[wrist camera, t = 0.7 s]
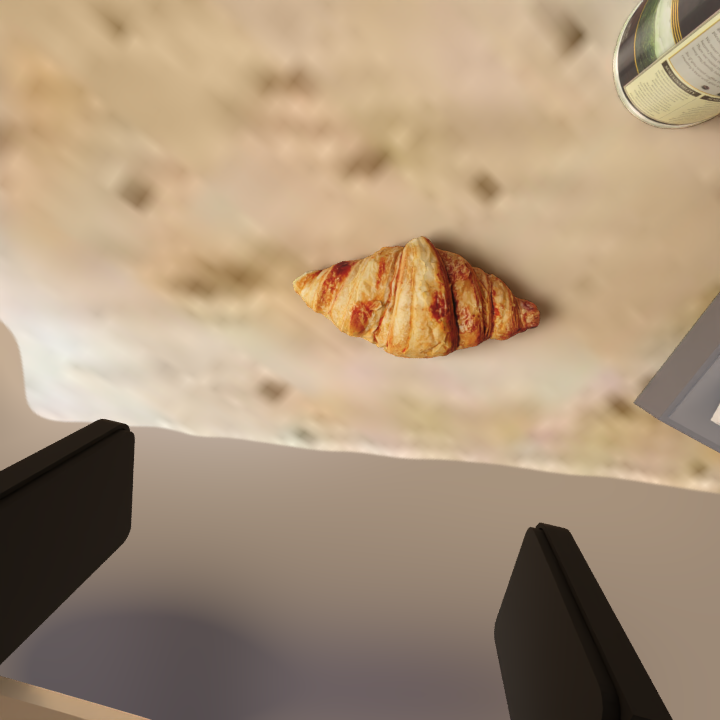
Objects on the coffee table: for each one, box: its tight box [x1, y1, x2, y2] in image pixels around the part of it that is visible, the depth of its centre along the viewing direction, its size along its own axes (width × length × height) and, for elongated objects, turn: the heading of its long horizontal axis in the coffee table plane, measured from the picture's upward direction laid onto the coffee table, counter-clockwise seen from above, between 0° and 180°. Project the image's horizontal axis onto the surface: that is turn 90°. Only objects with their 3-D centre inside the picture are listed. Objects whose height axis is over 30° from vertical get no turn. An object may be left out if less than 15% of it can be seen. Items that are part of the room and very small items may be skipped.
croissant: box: [293, 236, 540, 358], centre depth 36 cm, size 21×10×8 cm, turn 85°
